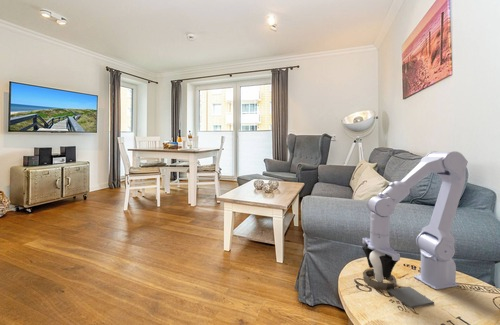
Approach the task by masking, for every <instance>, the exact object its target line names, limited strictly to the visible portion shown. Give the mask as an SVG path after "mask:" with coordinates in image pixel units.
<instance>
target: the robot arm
mask: <svg viewBox="0 0 500 325" xmlns="http://www.w3.org/2000/svg"><path fill="white" fill-rule="evenodd" d="M468 163H469V162H468V160H467V158H466V156H464V155H463V153H461V152H459V151H435V150H433V151H430V152H428V153H426V154H425V156H423V157H421V160H420V161H419V163H418V164H417V165H416V166H414V168H412V170H410V171H409V172H408V173H407V174H406V175H405V176H404V177H403V178H402V179H401V180H398V181H397V180H396V181H395V180H394V181H393V182H391V181H390V182H389V183H388V186H387V187H386V188H385V189H384V190H383V191H381V192H378V193H377V195H376V196H372V197H371V198H370V199H369V200H368V203H367V204H366V206H367V209H368V210H369V212H370V213H369V215H370V219H369V220H370V221H369V222H370V225H369V226H370V228H369V237H362V242H361V243H362V244H364V245H363V246H362V248H361V249H362V250H363V252H364V255H365V256H366V259H367V263H368V268H369V269H374V268H373V266H372V264H371V262H370V259H369V256H370V253H371V252H372V251H373V250H377V251H380V252H382V253H383V254H385V256H379V258H380V260H381V263H382V271H383V277H385V278H384V279H387V277H390V275H391V274H392V273H393V269H394V267H395V265H396V264H397V263H398V261H400V260H401V254H400V253H399V252H397V250H394V249H393V248H392V247H391V246H390V230H391V226H390V225H391V221H390V220H391V215H393V213H394V211H395V208H396V207H397V205H398V204H400V202H402V201H403V200H404V199H405V198H406V197H408V196H409V195H410V193H411V190H410V189H411V188H412V187H414V186H416V184H418V183H419V182H421V181H422V180H423V179H424V178H426V177H427V176H429V175H430V174H436V175H437V176H438V177H439V178H440V180H441V185H440V188H439V191H438V195H437V198H436V202H435V204H434V208H433V211H432V215H431V218H430V220H429V223H428V225H426V226H423V227H422V228H421V231H420V233H419V234H418V235H417V236H416V238H415V244H416V245H417V246H418V248H419V252H420V274H415V275H413V278H414V279H417V280H418V281H420V282H421V283H423V284H426V285H427V286H428V287H430V288H432V289H434V290H437V291H438V290H442V289H448V288H454V287H458V286H459V284H458V283H456V282H457V281H456V279H457V276H456V273H457V265H456V262H455V260H454V259H453V257H454V255H455V253H456V248H455V243H456V239H455V238H454V236H453V234H452V233H451V229H452V225H453V222H454V219H455V216H456V213H457V210H458V206H459V203H460V199H461V197H462V193H463V191H464V188H465V184H466V179H467V178H466V169H467V166H468Z"/></svg>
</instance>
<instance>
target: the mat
mask: <svg viewBox="0 0 500 325" xmlns="http://www.w3.org/2000/svg"><path fill="white" fill-rule="evenodd" d="M387 292H388V293H389V294H391V295H392V296H393V297H394V298H396V299H397V300H399V301H400V302H401V303H402V304H405V306H406V307H408V308H410V309H414V308H419V307H425V306H430V305H434V301H433V300H432V299H430V298H428V297H426V296H425V295H423V294H421V293H420V292H419V291H417V290H416V289H414V288H412V286H404V287H399V288H398V287H397V288H394V289H391V290H387Z"/></svg>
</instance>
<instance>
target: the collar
mask: <svg viewBox="0 0 500 325" xmlns="http://www.w3.org/2000/svg"><path fill="white" fill-rule="evenodd" d="M369 276H370V277H369ZM371 276H375V273H374V268H366V269H365V270H364V271H362V279H363V281H364V282H365V283H366V284H367V285H368V286H370V287H372V288H375V289H377V290H382V291H388V290H391V289H396V287H397V278H396V277H395V275H393V274H392V273H391V275H390V277H387V278H385V277H384V279H386V280H388V281H389V282H384V281H382V282H378V281H377V280H375V279H372V278H371Z"/></svg>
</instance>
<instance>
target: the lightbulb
mask: <svg viewBox="0 0 500 325" xmlns="http://www.w3.org/2000/svg"><path fill="white" fill-rule="evenodd" d="M379 256H385V254H383V253H382V252H380V251H377V250H373V251H372V252H371V253H370V256H369V259H370V262H371V264H372V266H373V268H372V269H374V273H375V275H374V280H375V281H377V282H384V279H385V278H384V277H383V271H382V263H381V260H380V258H379Z"/></svg>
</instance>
